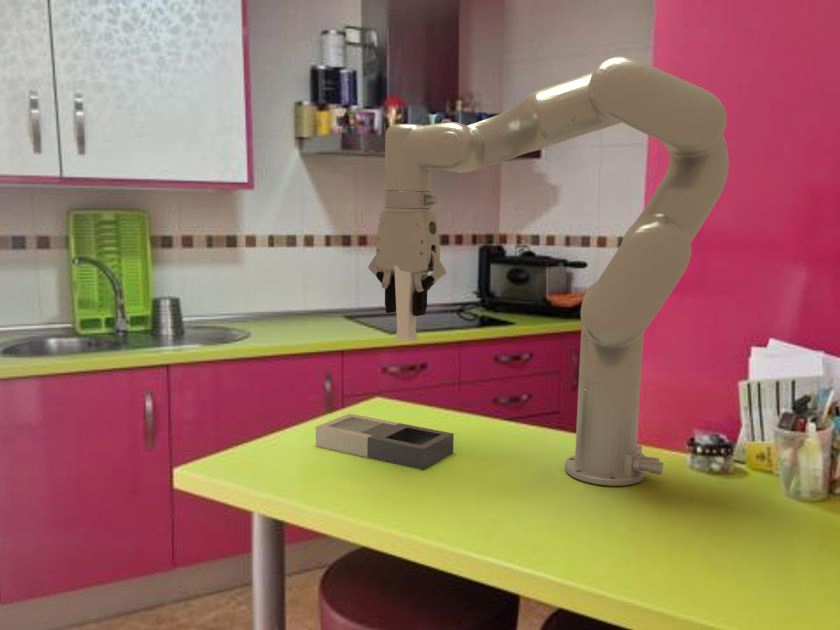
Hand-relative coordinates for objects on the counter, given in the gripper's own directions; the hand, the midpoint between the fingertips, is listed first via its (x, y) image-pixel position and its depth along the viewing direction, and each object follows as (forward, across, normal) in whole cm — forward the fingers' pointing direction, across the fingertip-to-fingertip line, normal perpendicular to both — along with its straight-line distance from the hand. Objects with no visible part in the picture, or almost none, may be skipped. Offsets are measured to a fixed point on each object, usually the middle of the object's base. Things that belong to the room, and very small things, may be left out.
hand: (405, 312), depth 128 cm
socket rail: (+25, +4, 0) cm, 25 cm away
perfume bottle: (+5, 0, 0) cm, 5 cm away
